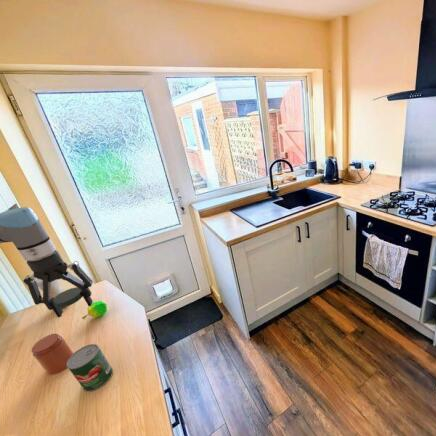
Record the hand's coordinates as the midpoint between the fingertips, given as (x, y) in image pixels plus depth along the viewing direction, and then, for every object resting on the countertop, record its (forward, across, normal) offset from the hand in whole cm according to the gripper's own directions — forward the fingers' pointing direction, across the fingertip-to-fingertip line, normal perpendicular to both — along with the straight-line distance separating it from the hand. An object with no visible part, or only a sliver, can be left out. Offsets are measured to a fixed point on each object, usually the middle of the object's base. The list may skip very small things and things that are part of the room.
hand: (75, 309), depth 87 cm
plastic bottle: (+15, -17, +32) cm, 39 cm away
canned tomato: (+15, +4, -21) cm, 26 cm away
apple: (+15, -1, +13) cm, 20 cm away
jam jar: (+15, -8, -6) cm, 18 cm away
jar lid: (-6, 0, 0) cm, 6 cm away
